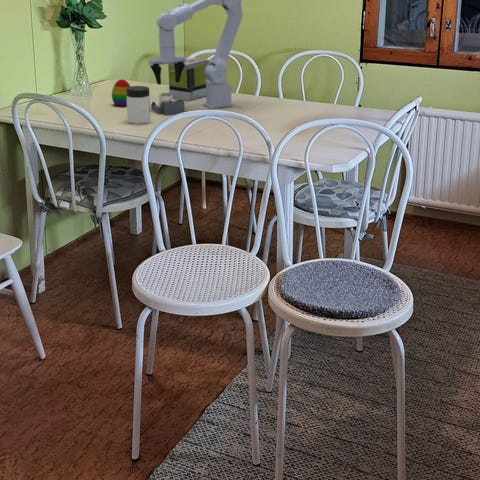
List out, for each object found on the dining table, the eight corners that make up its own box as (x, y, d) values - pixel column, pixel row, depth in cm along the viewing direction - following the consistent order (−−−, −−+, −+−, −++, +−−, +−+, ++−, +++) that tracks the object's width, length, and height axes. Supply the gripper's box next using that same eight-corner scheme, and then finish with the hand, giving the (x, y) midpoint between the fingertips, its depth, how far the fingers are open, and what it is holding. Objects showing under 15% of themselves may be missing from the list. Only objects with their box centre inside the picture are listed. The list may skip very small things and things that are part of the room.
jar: (132, 125, 283) (131, 91, 278) (122, 120, 289) (121, 87, 284) (155, 122, 287) (154, 88, 283) (145, 117, 294) (143, 84, 289)
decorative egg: (108, 106, 311) (107, 80, 307) (118, 102, 318) (117, 76, 314) (127, 108, 308) (126, 82, 304) (137, 103, 315) (136, 78, 311)
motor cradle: (176, 107, 310) (176, 93, 308) (187, 112, 301) (187, 98, 299) (151, 109, 305) (150, 96, 303) (161, 115, 297) (161, 101, 295)
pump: (170, 107, 309) (170, 92, 307) (174, 110, 305) (174, 94, 302) (157, 108, 307) (157, 93, 305) (161, 111, 303) (161, 95, 300)
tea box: (191, 92, 337) (191, 56, 331) (210, 95, 331) (210, 59, 326) (168, 98, 325) (167, 61, 320) (187, 101, 320) (187, 64, 314)
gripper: (180, 44, 305) (181, 79, 310) (144, 46, 299) (146, 83, 304) (188, 46, 299) (188, 82, 304) (152, 49, 293) (153, 86, 298)
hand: (168, 83), depth 304 cm, fingers open, 7 cm apart
